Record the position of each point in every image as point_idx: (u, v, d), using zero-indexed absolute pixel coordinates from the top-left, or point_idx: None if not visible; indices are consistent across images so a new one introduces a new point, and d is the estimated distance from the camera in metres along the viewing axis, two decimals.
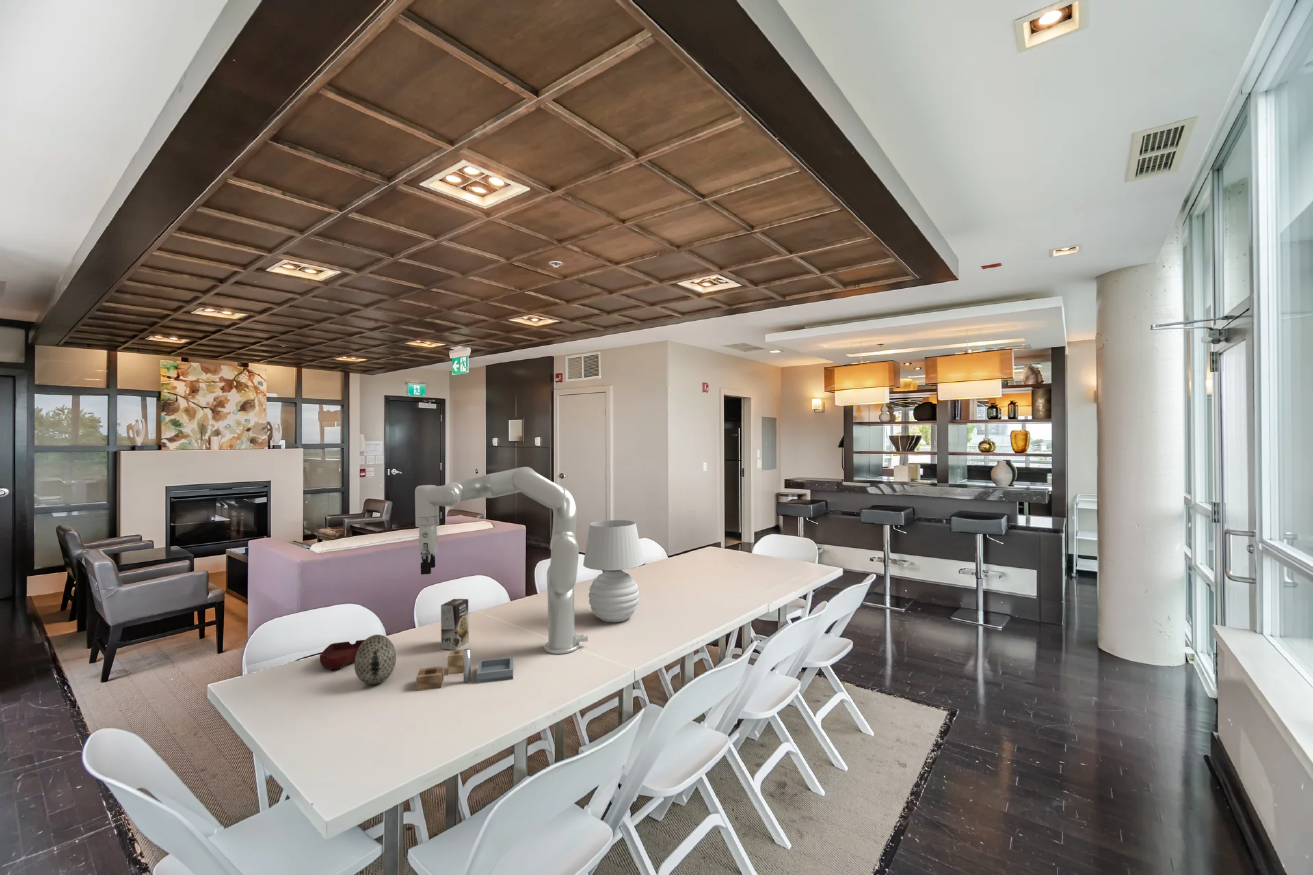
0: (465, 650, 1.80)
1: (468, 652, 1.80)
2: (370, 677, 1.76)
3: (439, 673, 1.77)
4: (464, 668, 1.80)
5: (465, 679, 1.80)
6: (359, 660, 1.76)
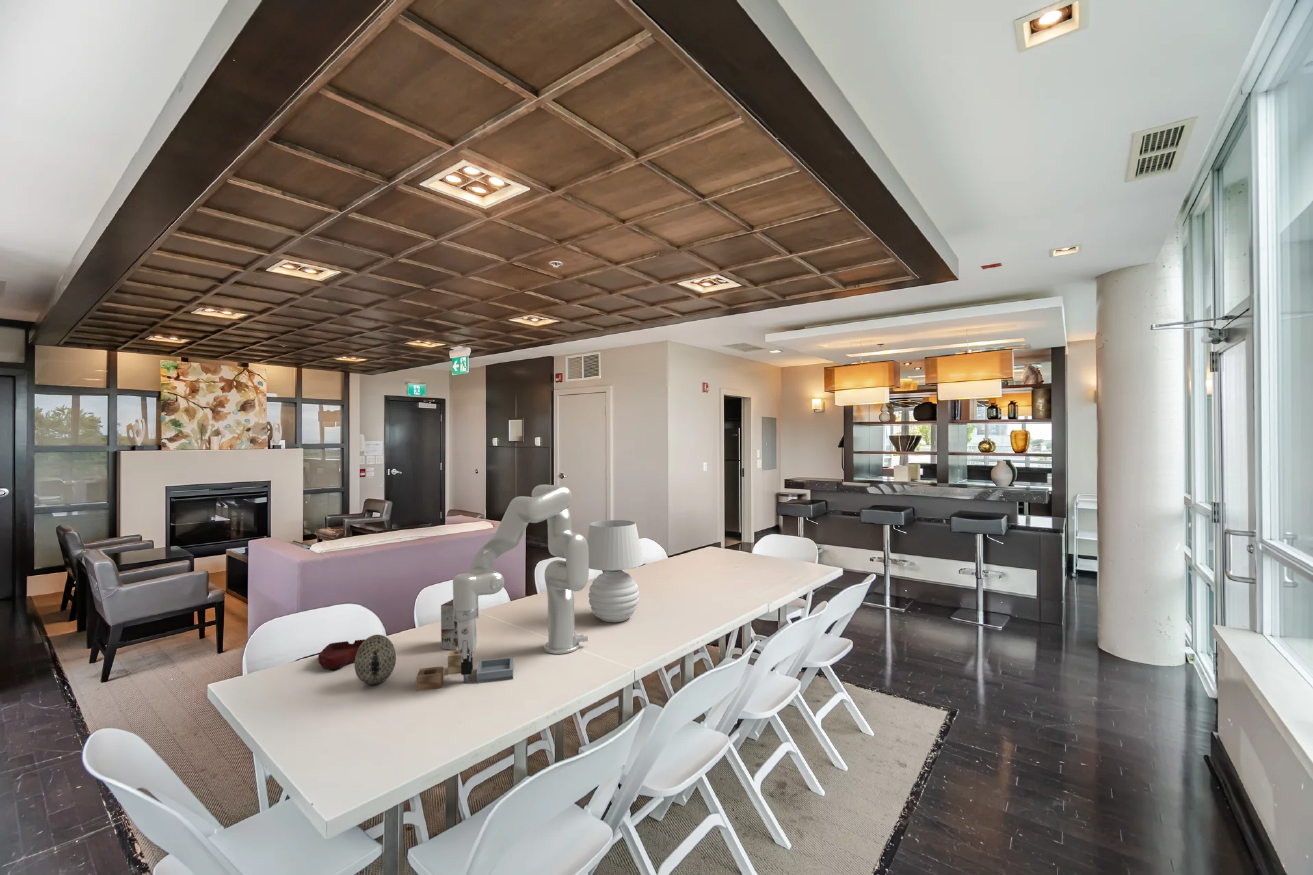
0: None
1: None
2: (370, 677, 1.76)
3: (439, 673, 1.77)
4: None
5: (465, 679, 1.80)
6: (359, 660, 1.76)
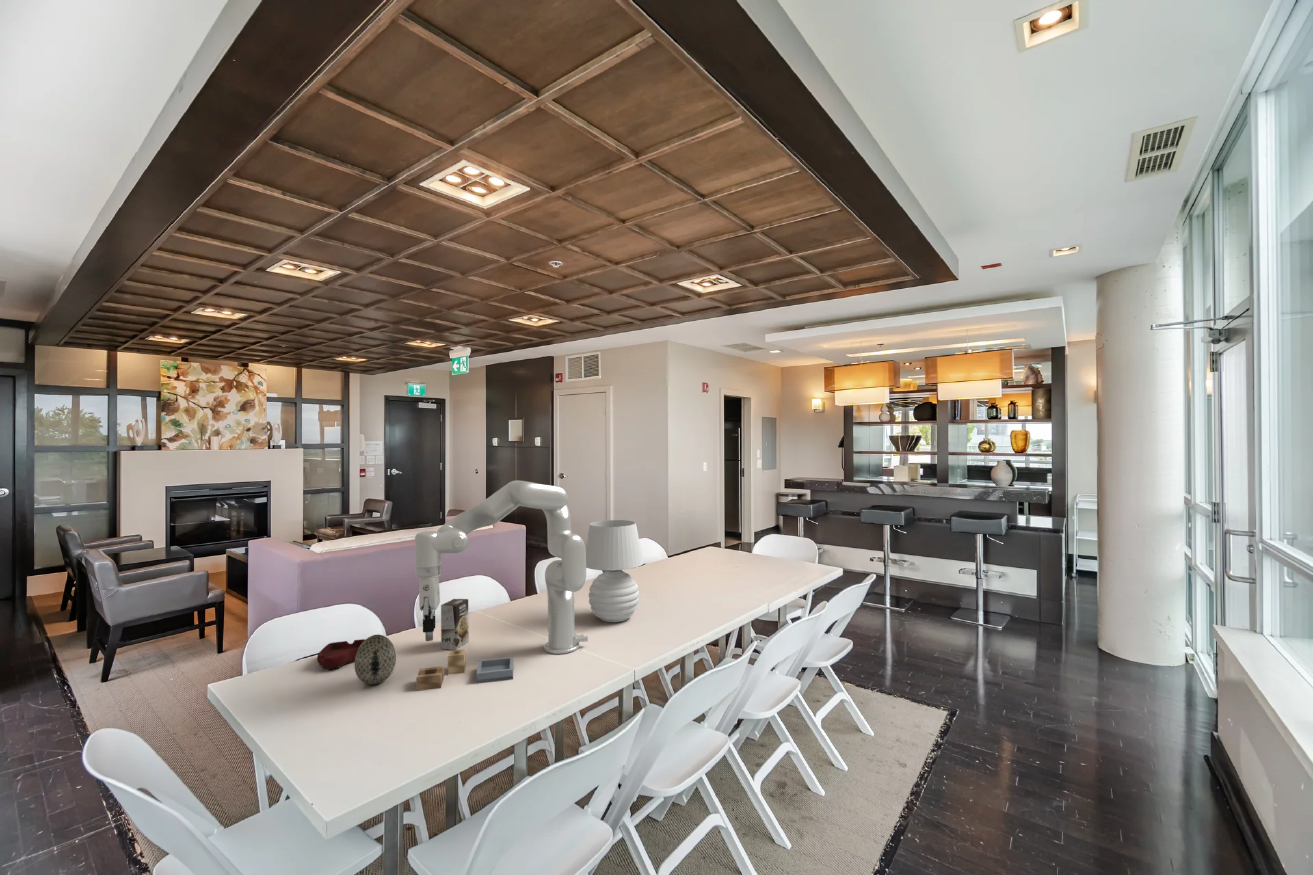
0: None
1: None
2: (370, 677, 1.76)
3: (439, 673, 1.77)
4: None
5: (427, 637, 1.78)
6: (359, 659, 1.76)
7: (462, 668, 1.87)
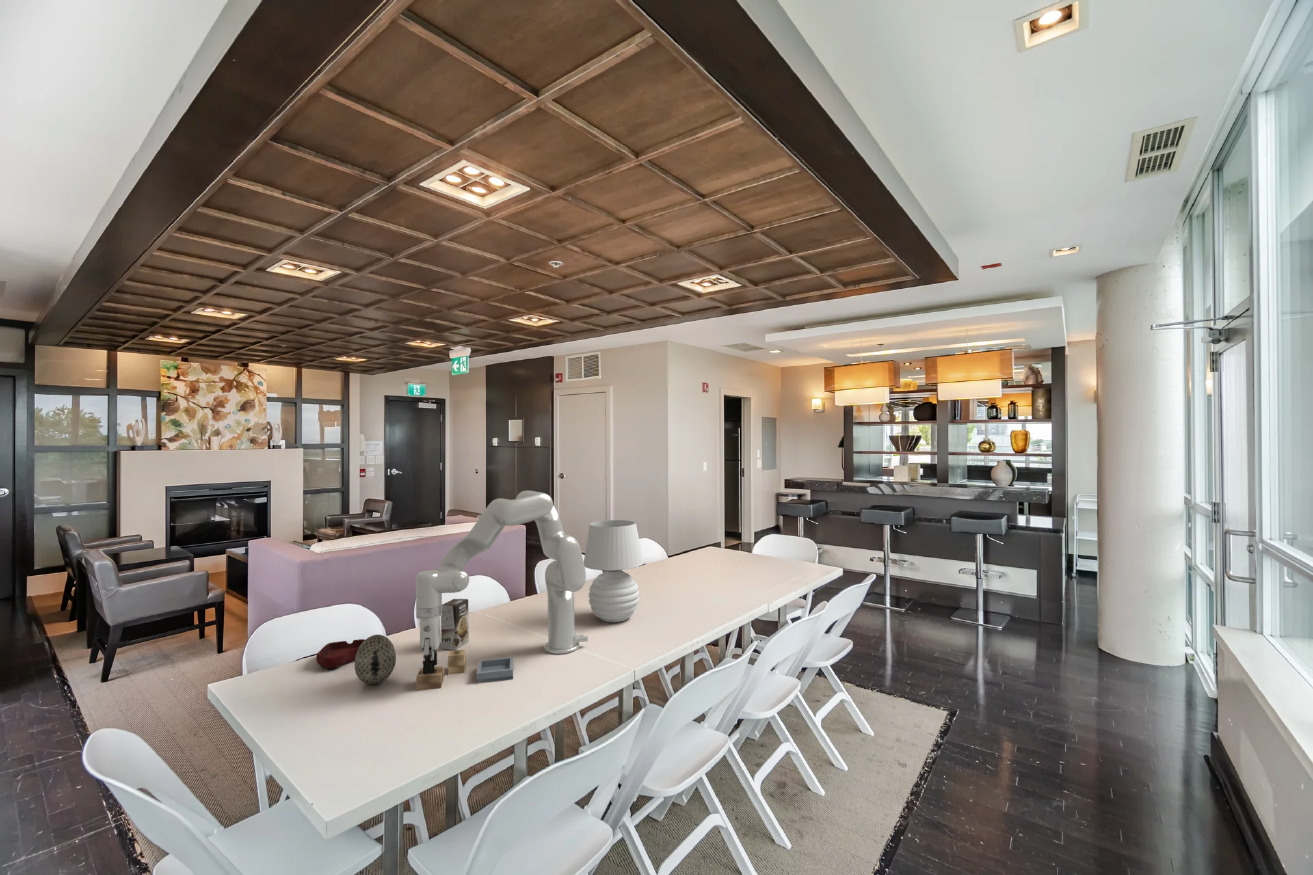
0: None
1: None
2: (370, 677, 1.76)
3: (439, 673, 1.77)
4: None
5: None
6: (359, 660, 1.76)
7: (462, 668, 1.87)
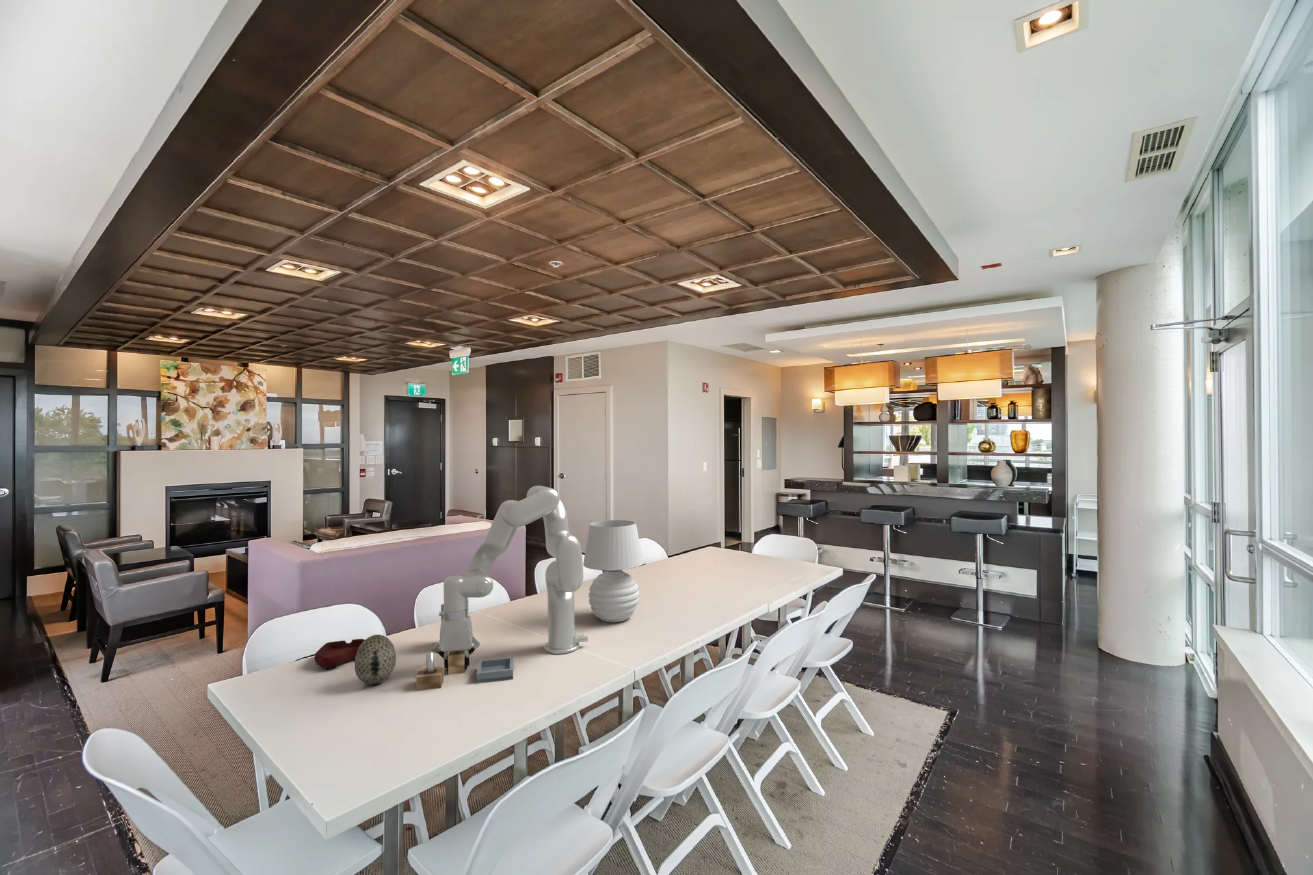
0: (428, 653, 1.79)
1: (431, 655, 1.78)
2: (370, 677, 1.76)
3: (439, 673, 1.77)
4: (427, 671, 1.78)
5: None
6: (359, 660, 1.76)
7: (462, 668, 1.87)
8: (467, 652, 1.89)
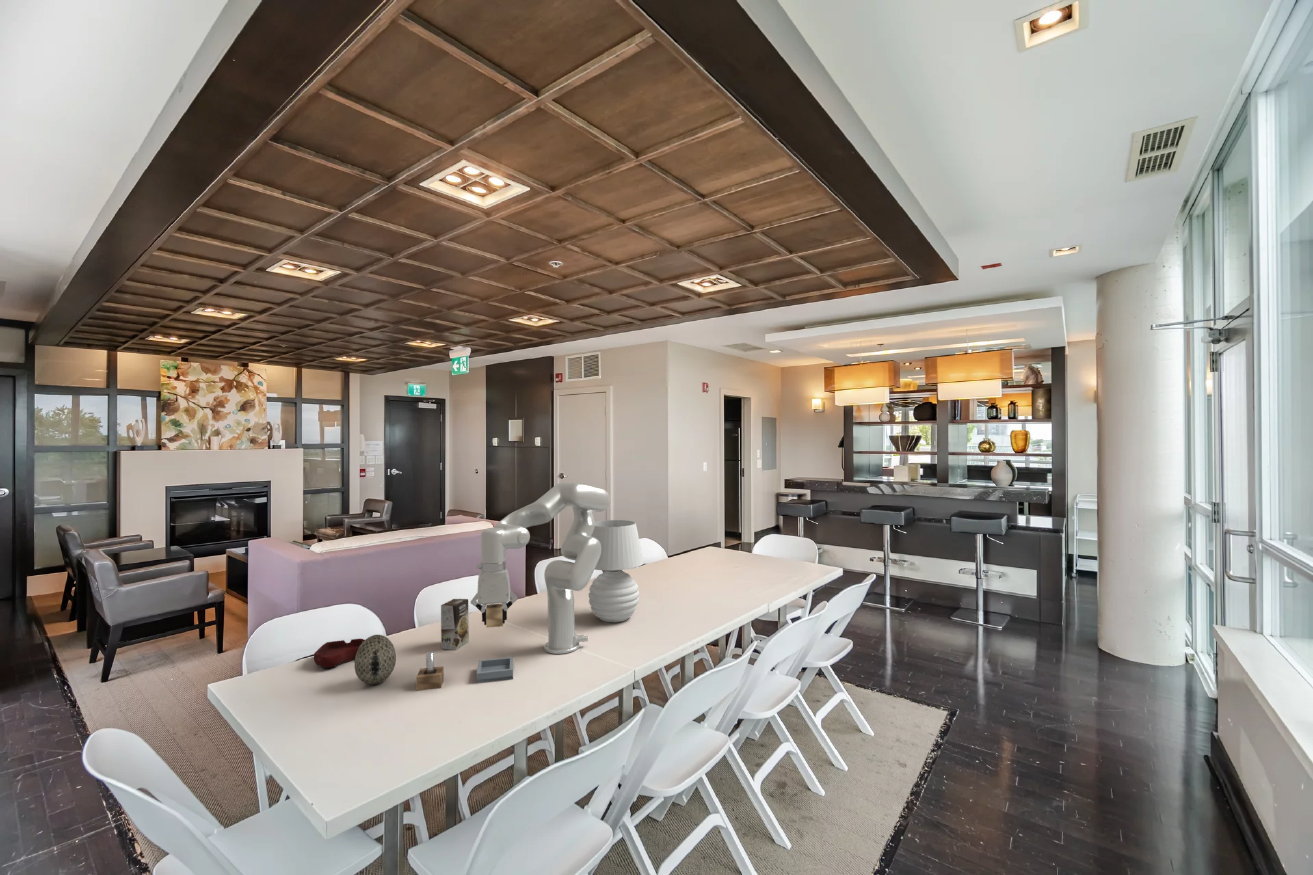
0: (428, 653, 1.79)
1: (431, 655, 1.78)
2: (370, 677, 1.76)
3: (439, 673, 1.77)
4: (427, 671, 1.78)
5: None
6: (359, 660, 1.76)
7: (500, 621, 1.84)
8: (505, 605, 1.85)
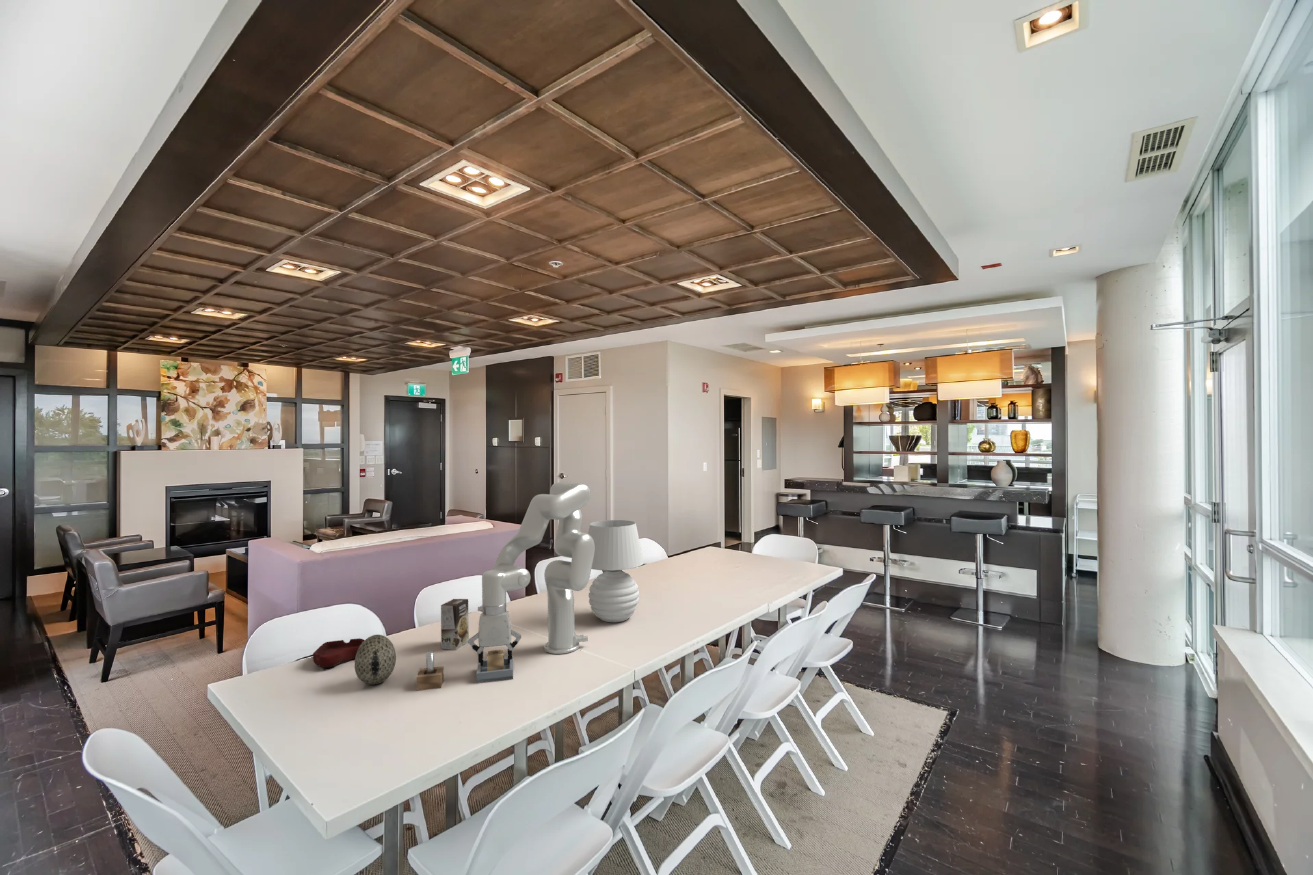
0: (428, 652, 1.79)
1: (431, 655, 1.78)
2: (370, 677, 1.76)
3: (439, 673, 1.77)
4: (427, 671, 1.78)
5: None
6: (359, 659, 1.76)
7: (501, 668, 1.84)
8: (509, 646, 1.86)
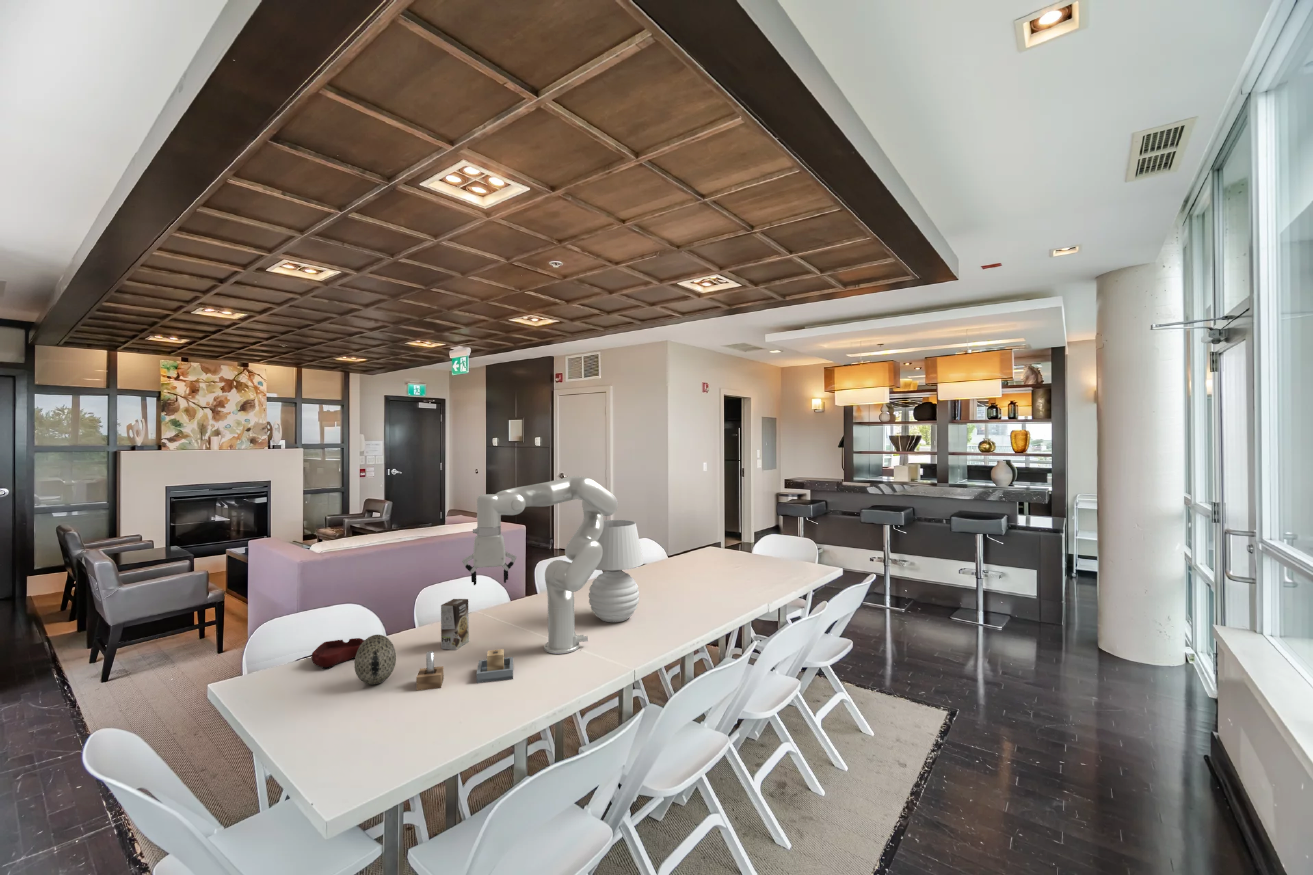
0: (428, 652, 1.79)
1: (431, 655, 1.78)
2: (370, 677, 1.76)
3: (439, 673, 1.77)
4: (427, 671, 1.78)
5: None
6: (359, 660, 1.76)
7: (501, 668, 1.84)
8: (505, 566, 1.91)
